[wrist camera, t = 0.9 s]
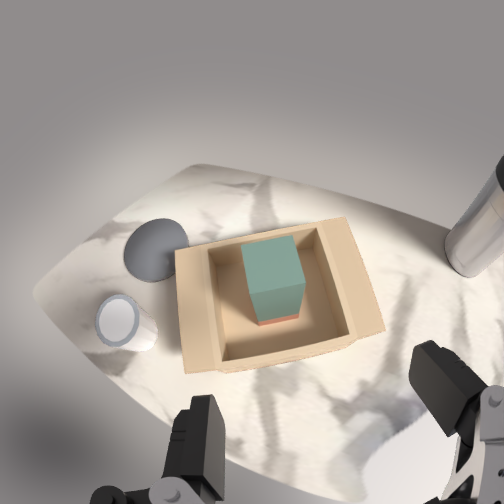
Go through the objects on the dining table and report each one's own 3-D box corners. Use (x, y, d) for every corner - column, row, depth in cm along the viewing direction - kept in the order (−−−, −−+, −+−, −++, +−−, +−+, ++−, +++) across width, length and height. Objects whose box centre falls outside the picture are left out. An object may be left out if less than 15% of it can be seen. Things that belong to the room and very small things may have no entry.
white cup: (136, 302, 38) (112, 284, 32) (170, 324, 36) (149, 310, 30) (114, 339, 35) (86, 327, 29) (147, 365, 33) (120, 357, 27)
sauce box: (289, 282, 36) (292, 234, 26) (298, 318, 34) (306, 282, 23) (252, 289, 36) (240, 244, 26) (259, 326, 34) (249, 294, 23)
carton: (337, 240, 40) (344, 216, 34) (370, 340, 32) (386, 330, 27) (188, 270, 40) (174, 250, 34) (199, 376, 32) (184, 373, 27)
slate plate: (178, 212, 45) (176, 208, 44) (197, 264, 40) (195, 261, 39) (122, 238, 44) (120, 235, 43) (133, 292, 39) (130, 290, 38)
